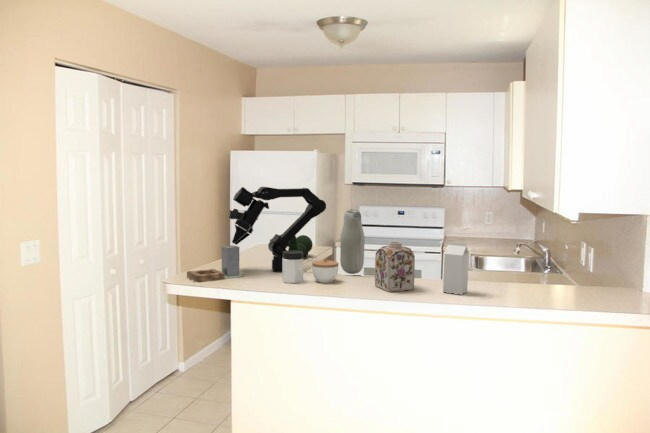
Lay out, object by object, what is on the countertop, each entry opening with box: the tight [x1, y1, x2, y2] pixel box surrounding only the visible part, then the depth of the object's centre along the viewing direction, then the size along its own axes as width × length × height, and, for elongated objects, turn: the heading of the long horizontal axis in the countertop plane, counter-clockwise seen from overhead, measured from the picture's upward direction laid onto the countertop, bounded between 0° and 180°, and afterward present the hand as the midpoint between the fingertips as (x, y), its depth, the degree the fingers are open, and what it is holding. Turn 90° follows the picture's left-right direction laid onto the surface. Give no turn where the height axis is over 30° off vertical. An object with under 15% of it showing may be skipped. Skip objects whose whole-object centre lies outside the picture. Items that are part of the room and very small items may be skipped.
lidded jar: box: [311, 258, 339, 284], centre depth 236 cm, size 11×11×9 cm
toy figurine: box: [287, 234, 314, 259], centre depth 290 cm, size 9×19×25 cm
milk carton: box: [442, 241, 470, 296], centre depth 220 cm, size 7×7×19 cm
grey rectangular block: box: [221, 244, 240, 277], centre depth 244 cm, size 6×6×12 cm
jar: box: [281, 249, 305, 284], centre depth 235 cm, size 9×8×12 cm
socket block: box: [186, 268, 226, 283], centre depth 239 cm, size 12×11×2 cm
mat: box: [225, 273, 244, 279], centre depth 245 cm, size 8×8×1 cm
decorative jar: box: [374, 241, 416, 293], centre depth 225 cm, size 12×12×18 cm
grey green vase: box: [339, 208, 366, 275], centre depth 253 cm, size 10×10×28 cm
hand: (234, 243), depth 249 cm, fingers open, 9 cm apart
